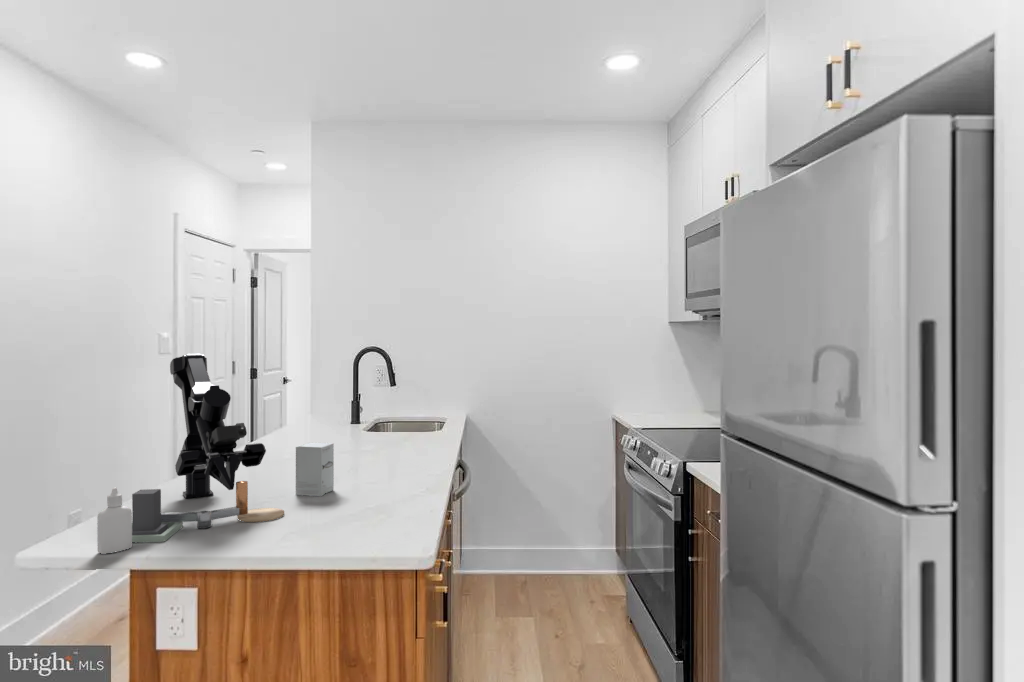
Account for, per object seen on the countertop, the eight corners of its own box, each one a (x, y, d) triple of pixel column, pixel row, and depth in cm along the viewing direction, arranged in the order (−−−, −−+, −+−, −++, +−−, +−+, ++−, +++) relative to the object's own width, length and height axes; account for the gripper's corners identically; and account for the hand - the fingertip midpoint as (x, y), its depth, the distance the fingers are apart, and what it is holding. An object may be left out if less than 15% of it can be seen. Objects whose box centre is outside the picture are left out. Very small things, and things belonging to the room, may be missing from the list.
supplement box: (321, 496, 171) (321, 447, 171) (294, 495, 173) (294, 446, 172) (334, 490, 178) (334, 442, 178) (309, 489, 180) (308, 441, 180)
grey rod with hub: (249, 517, 151) (249, 480, 151) (236, 527, 143) (236, 488, 143) (151, 519, 150) (151, 481, 150) (134, 529, 142) (133, 490, 142)
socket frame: (130, 528, 143) (130, 523, 143) (182, 526, 145) (182, 521, 145) (108, 543, 133) (108, 537, 133) (164, 541, 134) (164, 535, 134)
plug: (137, 531, 141) (137, 488, 141) (167, 530, 142) (167, 487, 142) (125, 540, 135) (124, 495, 135) (156, 538, 136) (156, 494, 136)
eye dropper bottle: (100, 549, 130) (99, 486, 129) (133, 545, 132) (132, 484, 132) (95, 555, 126) (95, 491, 125) (130, 552, 128) (129, 489, 128)
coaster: (233, 514, 154) (233, 511, 154) (278, 508, 160) (278, 505, 160) (242, 524, 146) (242, 522, 146) (289, 518, 151) (289, 515, 151)
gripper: (179, 415, 148) (196, 472, 140) (262, 409, 161) (282, 461, 153) (168, 447, 154) (184, 503, 146) (249, 438, 167) (268, 490, 158)
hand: (231, 488), depth 151 cm, fingers closed
